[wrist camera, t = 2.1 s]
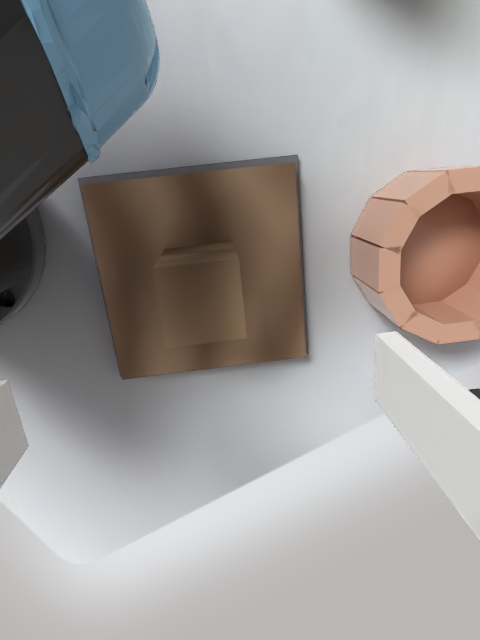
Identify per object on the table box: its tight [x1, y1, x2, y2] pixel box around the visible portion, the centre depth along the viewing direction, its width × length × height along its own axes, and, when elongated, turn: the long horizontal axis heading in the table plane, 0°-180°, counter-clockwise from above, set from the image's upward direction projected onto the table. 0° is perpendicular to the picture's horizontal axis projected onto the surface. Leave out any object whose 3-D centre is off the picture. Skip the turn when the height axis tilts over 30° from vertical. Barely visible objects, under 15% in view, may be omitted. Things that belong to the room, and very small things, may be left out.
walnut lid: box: [81, 162, 306, 379], centre depth 29 cm, size 15×15×8 cm
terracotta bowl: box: [350, 166, 480, 344], centre depth 32 cm, size 12×12×6 cm
